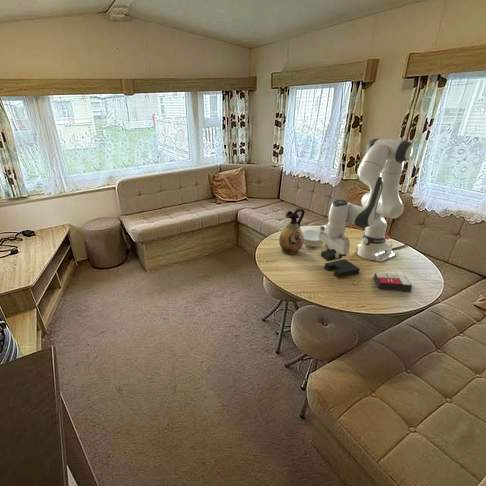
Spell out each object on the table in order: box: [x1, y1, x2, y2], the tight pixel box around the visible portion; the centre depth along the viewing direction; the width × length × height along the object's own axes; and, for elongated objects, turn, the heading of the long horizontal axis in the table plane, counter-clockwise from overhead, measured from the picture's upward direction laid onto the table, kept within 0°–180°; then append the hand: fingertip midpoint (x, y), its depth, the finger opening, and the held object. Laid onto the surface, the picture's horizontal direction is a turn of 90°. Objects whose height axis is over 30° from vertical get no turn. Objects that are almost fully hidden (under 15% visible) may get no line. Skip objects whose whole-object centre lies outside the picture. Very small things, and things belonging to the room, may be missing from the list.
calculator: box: [373, 272, 413, 292], centre depth 159 cm, size 11×4×15 cm
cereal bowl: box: [301, 229, 324, 248], centre depth 203 cm, size 17×17×7 cm
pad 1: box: [320, 248, 347, 262], centre depth 162 cm, size 13×6×3 cm, turn 109°
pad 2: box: [324, 258, 360, 279], centre depth 173 cm, size 14×12×3 cm
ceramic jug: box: [278, 207, 305, 255], centre depth 190 cm, size 17×15×30 cm
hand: (331, 254), depth 161 cm, fingers closed on pad 1, 6 cm apart
